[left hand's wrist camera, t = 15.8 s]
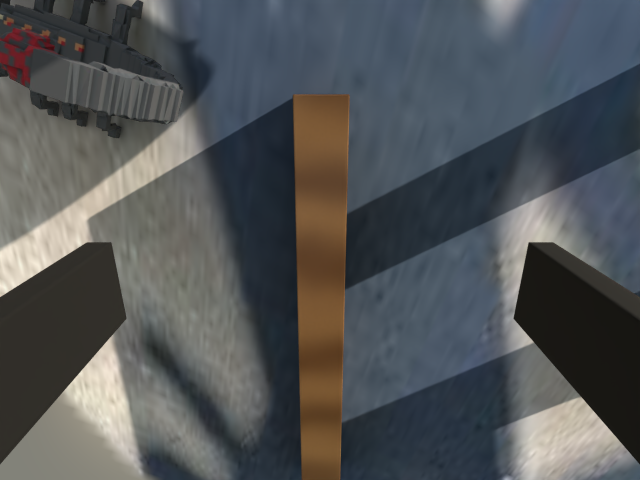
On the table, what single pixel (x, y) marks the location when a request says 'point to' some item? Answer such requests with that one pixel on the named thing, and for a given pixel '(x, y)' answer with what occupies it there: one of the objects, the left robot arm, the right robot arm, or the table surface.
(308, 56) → the table surface
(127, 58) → the toy
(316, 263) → the beam
